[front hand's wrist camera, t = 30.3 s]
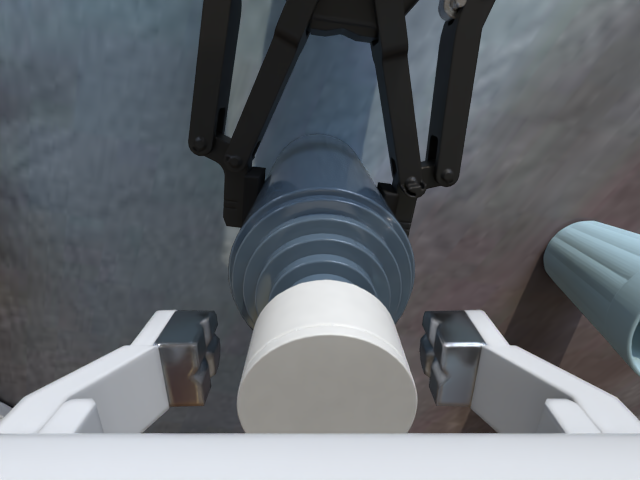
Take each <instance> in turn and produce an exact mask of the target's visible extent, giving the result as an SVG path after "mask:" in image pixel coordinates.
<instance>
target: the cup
mask: <svg viewBox="0 0 640 480" xmlns="http://www.w3.org/2000/svg"><path fill="white" fill-rule="evenodd" d="M544 268H545V271H546V272H547V274H548V275H549V276H550V278H551V279H552V280H553V281H554V282H555V283H556V285H557V286H558V287H559V288H560V289H561V290H562V291H563V292H564V293H565V295H566V296H567V297H568V298H569V299H570V300H571V301H572V302H573V303H574V305H575V306H576V307H577V308H578V309H579V310H580V311H581V312H582V313H583V315H584V316H585V317H586V318H587V319H588V320H589V321H590V322H591V323H592V324H593V326H594V327H595V328H596V329H597V330H598V331H599V332H600V333H601V334H602V336H603V337H604V338H605V339H606V340H607V341H608V342H609V343H610V344H611V346H612V347H613V348H614V350H615V351H616V352H617V353H618V354H619V355H620V356H621V357H622V358H623V360H624V361H625V362H626V363H627V364H628V365H629V366H630V367H631V369H632V370H633V371H634V372H635V373H636V374H637V375H638V376H640V235H639V234H636V233H633V232H629V231H626V230H623V229H620V228H616V227H613V226H610V225H606V224H603V223H599V222H596V221H582V222H576V223H573V224H571V225H569V226H567V227H565V228H563V229H562V230H560V231H559V232H558V233H557V234H556V235H555V236H554V237H553V238H552V239H551V241H550V242H549V243H548V245H547V248H546V250H545V253H544Z"/></svg>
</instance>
